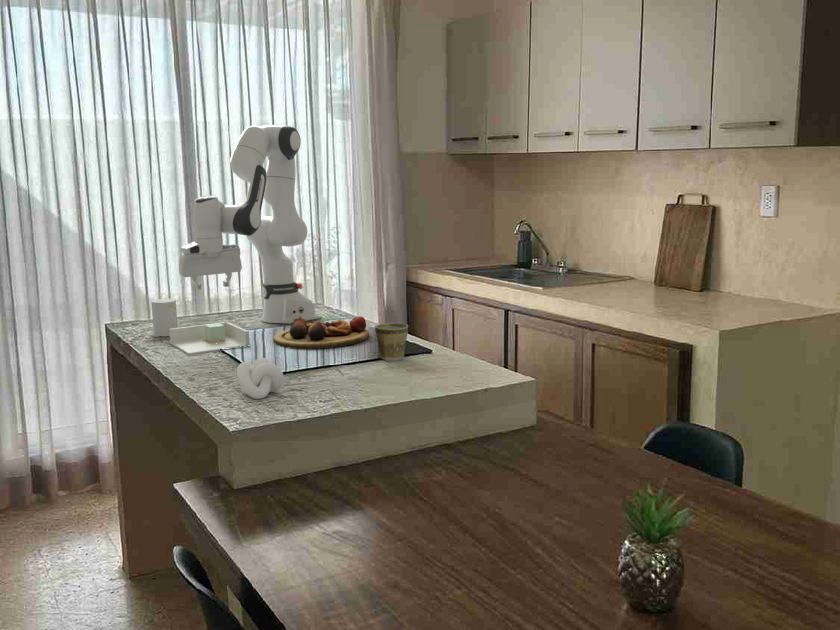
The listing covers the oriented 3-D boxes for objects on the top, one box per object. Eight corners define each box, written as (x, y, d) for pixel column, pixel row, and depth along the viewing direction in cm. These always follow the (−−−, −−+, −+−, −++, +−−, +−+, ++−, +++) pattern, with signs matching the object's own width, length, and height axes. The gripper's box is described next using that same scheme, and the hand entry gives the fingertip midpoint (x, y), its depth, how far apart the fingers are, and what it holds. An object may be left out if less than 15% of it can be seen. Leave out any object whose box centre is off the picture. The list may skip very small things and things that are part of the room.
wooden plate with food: (376, 330, 291) (375, 307, 289) (360, 349, 259) (358, 324, 258) (288, 331, 294) (286, 308, 293) (261, 351, 263) (259, 325, 262)
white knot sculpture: (287, 388, 217) (286, 355, 216) (281, 401, 205) (279, 366, 204) (244, 389, 217) (242, 356, 215) (236, 402, 205) (233, 367, 204)
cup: (174, 336, 284) (171, 302, 282) (150, 337, 284) (147, 302, 282) (181, 331, 292) (178, 298, 290) (158, 332, 292) (155, 298, 290)
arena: (228, 335, 284) (227, 321, 283) (249, 346, 267) (248, 331, 266) (170, 343, 273) (169, 328, 272) (188, 354, 257) (187, 339, 256)
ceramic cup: (404, 363, 242) (404, 329, 240) (372, 362, 244) (371, 328, 242) (414, 352, 254) (413, 321, 252) (382, 352, 256) (381, 320, 254)
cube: (220, 337, 278) (219, 323, 277) (225, 340, 273) (224, 325, 273) (205, 339, 275) (204, 325, 274) (210, 342, 271) (209, 327, 270)
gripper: (236, 243, 276) (239, 283, 279) (175, 247, 266) (179, 290, 268) (243, 244, 271) (245, 285, 274) (181, 249, 260) (184, 292, 263)
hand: (212, 288), depth 271 cm, fingers open, 8 cm apart
